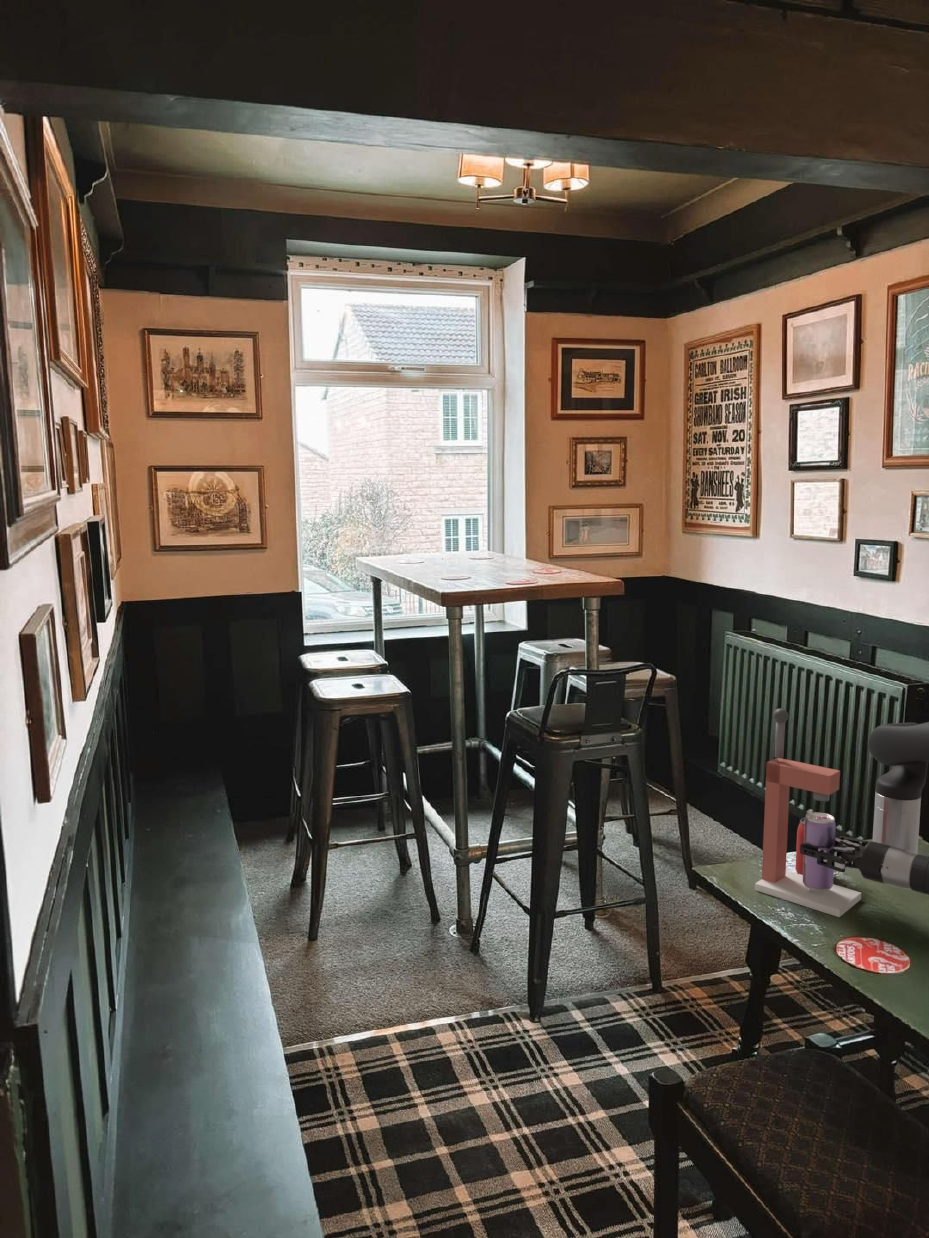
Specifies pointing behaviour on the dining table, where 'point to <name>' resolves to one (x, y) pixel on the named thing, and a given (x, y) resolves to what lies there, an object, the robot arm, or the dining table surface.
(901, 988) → the dining table surface
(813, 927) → the dining table surface
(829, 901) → the bench press
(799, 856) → the beer can
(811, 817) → the beverage can
